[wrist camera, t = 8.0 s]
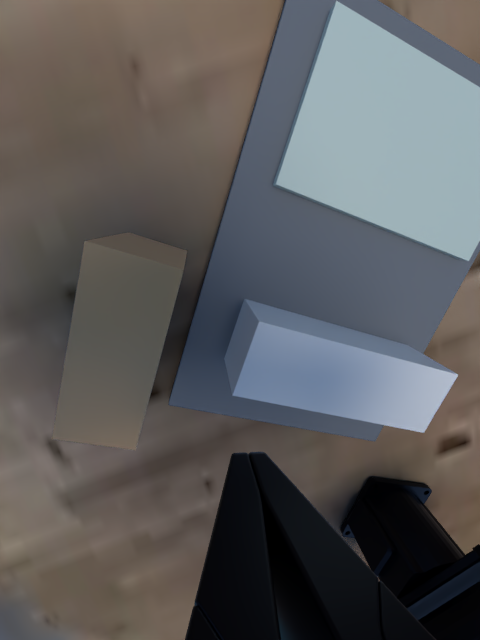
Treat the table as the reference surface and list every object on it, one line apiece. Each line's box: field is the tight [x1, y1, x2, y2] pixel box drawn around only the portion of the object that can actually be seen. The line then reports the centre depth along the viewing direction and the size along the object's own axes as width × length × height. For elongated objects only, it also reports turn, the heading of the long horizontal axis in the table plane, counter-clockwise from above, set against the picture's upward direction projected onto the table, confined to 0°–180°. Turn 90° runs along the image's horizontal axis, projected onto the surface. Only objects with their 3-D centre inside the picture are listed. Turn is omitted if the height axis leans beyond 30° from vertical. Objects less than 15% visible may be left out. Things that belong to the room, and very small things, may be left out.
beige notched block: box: [52, 232, 187, 450], centre depth 13 cm, size 3×7×6 cm, turn 162°
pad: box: [273, 1, 480, 261], centre depth 15 cm, size 13×8×1 cm, turn 72°
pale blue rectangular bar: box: [224, 299, 458, 433], centre depth 17 cm, size 12×4×4 cm, turn 72°
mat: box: [169, 0, 480, 441], centre depth 17 cm, size 16×23×1 cm
